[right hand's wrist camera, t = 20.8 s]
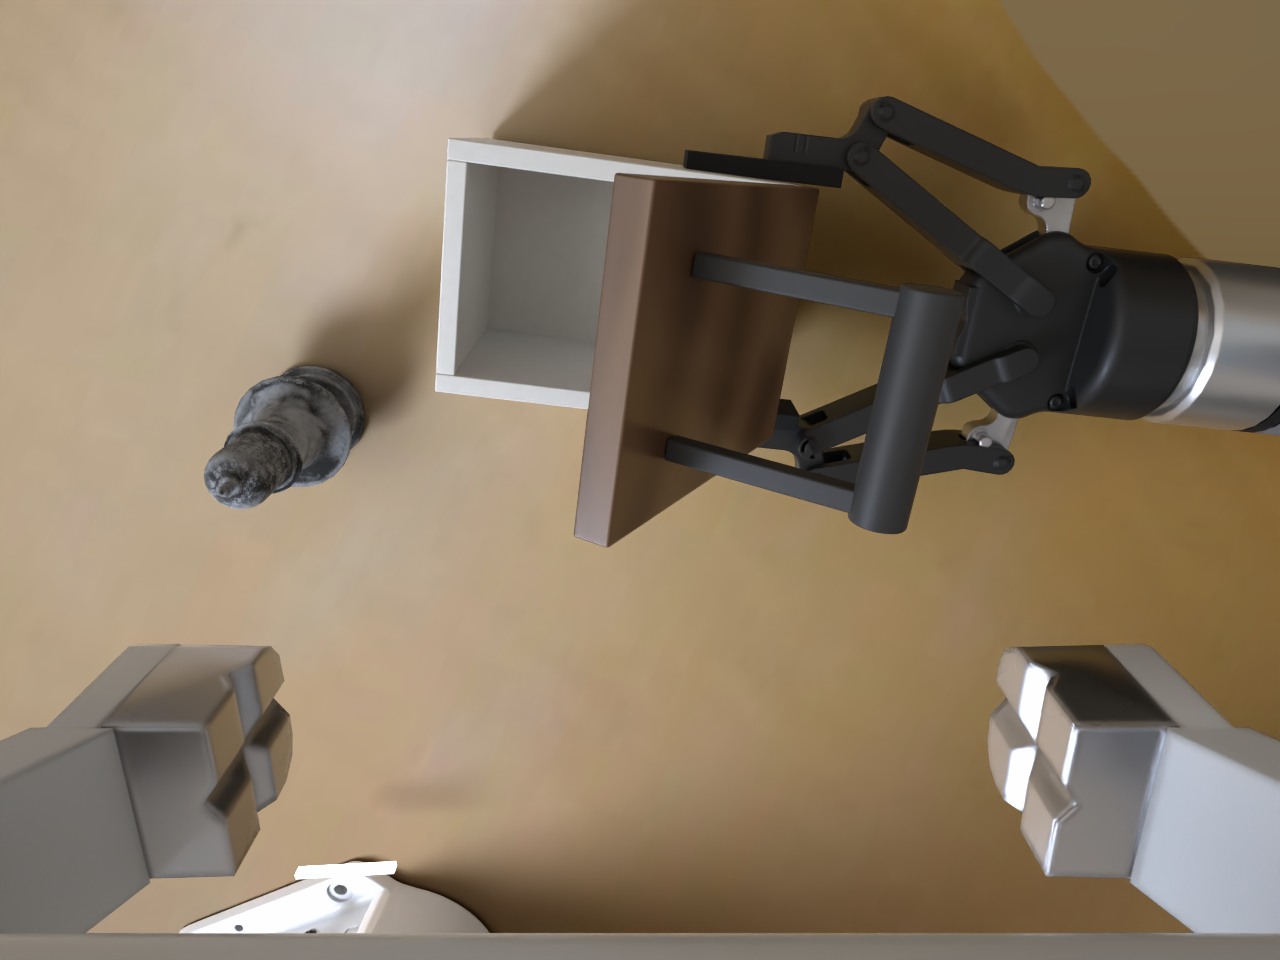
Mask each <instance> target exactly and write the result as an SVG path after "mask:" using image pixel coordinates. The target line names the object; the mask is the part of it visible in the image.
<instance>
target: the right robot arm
mask: <svg viewBox="0 0 1280 960" xmlns="http://www.w3.org/2000/svg"><path fill="white" fill-rule="evenodd" d="M283 682H284V677H283V672H282V667H281V662H280V657H279V654H278V653H277V652H276V651H275V650H274V649H273V648H272V647H271V646H230V645H180V644H147V645H136V646H130V647H128V648H127V649H126V650H125V651H124V652H123V653H122V654H121V655H120V656H119V657H118V658H117V659H116V660H115V661H114V662H113V663H112V664H110V665H109V666H108V667H107V668H106V669H105V670H104V671H103V672H102V673H101V674H100V675H99V676H98V677H97V678H96V679H95V680H94V681H93V682H92V683H91V684H90V685H89V686H88V687H87V688H86V689H85V690H84V691H83V692H82V693H81V694H80V695H79V696H78V697H77V698H76V699H75V700H74V701H73V702H72V703H71V704H70V705H69V706H68V707H67V708H66V709H65V710H64V711H63V712H61V713H60V714H59V715H58V716H57V717H56V718H55V719H54V720H53V721H52V722H51V723H50V724H49V725H48V726H47V727H46V728H29V729H27V730H25V731H22V732H20V733H18V734H16V735H13V736H11V737H9V738H6V739H4V740H2V741H0V960H1280V741H1278V740H1276V739H1274V738H1271V737H1269V736H1267V735H1264V734H1262V733H1260V732H1258V731H1255V730H1253V729H1251V728H1234V727H1233V726H1232V725H1231V724H1230V723H1229V722H1228V721H1227V720H1226V719H1225V718H1224V717H1223V716H1222V715H1221V714H1220V713H1219V712H1218V711H1217V710H1216V709H1215V708H1214V707H1212V706H1211V705H1210V704H1209V703H1208V702H1207V701H1206V700H1205V699H1204V698H1203V697H1202V696H1201V695H1200V694H1199V693H1198V692H1197V691H1196V690H1195V689H1194V688H1193V687H1192V686H1191V685H1190V684H1189V683H1188V682H1187V681H1186V680H1185V679H1184V678H1183V677H1182V676H1181V675H1180V674H1179V673H1178V672H1177V671H1176V670H1175V669H1174V668H1173V667H1172V666H1171V665H1170V664H1169V663H1168V662H1167V661H1166V660H1165V659H1164V658H1163V657H1162V656H1161V655H1160V654H1159V653H1158V652H1157V651H1155V650H1154V649H1153V648H1152V647H1149V646H1146V645H1143V644H1117V645H1083V646H1043V647H1012V648H1005V650H1004V652H1003V654H1002V656H1001V658H1000V661H999V665H998V671H997V677H996V682H997V683H998V685H999V687H1000V688H1001V690H1002V691H1003V693H1004V694H1005V696H1006V697H1007V698H1006V699H1005V700H1004V701H1003V702H1002V703H1001V704H1000V705H999V706H998V707H997V708H996V709H995V711H994V712H993V713H992V714H991V715H990V721H989V729H988V737H987V745H988V756H989V766H990V769H991V772H992V775H993V779H994V782H995V784H996V786H997V788H998V790H999V792H1000V794H1001V796H1002V798H1003V800H1005V801H1006V802H1008V803H1009V804H1011V805H1012V806H1014V807H1015V808H1017V809H1018V810H1020V811H1022V812H1023V814H1022V819H1021V825H1020V831H1021V832H1022V834H1023V836H1024V838H1025V839H1026V841H1027V843H1028V845H1029V847H1030V848H1031V850H1032V852H1033V854H1034V856H1035V857H1036V859H1037V861H1038V863H1039V864H1040V866H1041V868H1042V870H1043V872H1044V873H1045V875H1046V876H1059V877H1095V878H1130V883H1131V884H1133V885H1134V886H1135V887H1136V888H1138V889H1139V890H1140V891H1142V892H1143V893H1144V894H1145V895H1147V896H1148V897H1149V898H1151V899H1152V900H1153V901H1154V902H1156V903H1157V904H1158V905H1160V906H1161V907H1162V908H1163V909H1165V910H1166V911H1167V912H1169V913H1170V914H1171V915H1172V916H1174V917H1175V918H1176V919H1178V920H1179V921H1180V922H1181V923H1183V924H1184V925H1185V926H1187V927H1188V928H1189V929H1190V930H1192V931H1193V932H1194V933H489V931H488V930H487V929H486V928H485V926H484V925H483V924H482V923H481V922H480V921H479V920H478V919H477V918H476V917H475V916H474V915H473V914H471V913H470V912H469V911H467V910H466V909H465V908H463V907H462V906H460V905H459V904H457V903H455V902H453V901H451V900H450V899H447V898H445V897H443V896H441V895H438V894H436V893H433V892H430V891H427V890H423V889H419V888H416V887H412V886H408V885H405V884H402V883H400V882H398V881H396V880H394V879H393V878H391V877H390V876H388V875H387V874H394V872H395V869H396V866H397V863H396V861H391V862H373V863H366V862H362V861H351V862H348V863H345V864H337V865H319V866H301V867H298V869H297V871H296V874H295V878H296V879H305V878H307V879H305V880H302V881H299V882H297V883H294V884H292V885H289V886H287V887H284V888H282V889H279V890H277V891H274V892H271V893H269V894H266V895H264V896H261V897H259V898H256V899H254V900H251V901H249V902H246V903H243V904H241V905H238V906H236V907H233V908H231V909H228V910H226V911H223V912H221V913H218V914H216V915H213V916H210V917H208V918H205V919H203V920H200V921H198V922H195V923H193V924H190V925H188V926H186V927H184V928H183V929H181V930H180V932H179V933H86V932H87V931H89V930H90V929H91V928H92V927H94V926H95V925H96V924H98V923H99V922H100V921H101V920H103V919H104V918H105V917H107V916H108V915H109V914H110V913H112V912H113V911H114V910H116V909H117V908H118V907H119V906H121V905H122V904H123V903H125V902H126V901H127V900H128V899H130V898H131V897H132V896H134V895H135V894H136V893H137V892H139V891H140V890H141V889H143V888H144V887H145V886H146V885H148V884H149V883H150V879H149V878H183V877H219V876H234V875H235V874H236V872H237V870H238V868H239V866H240V865H241V863H242V861H243V859H244V857H245V856H246V854H247V852H248V850H249V848H250V847H251V845H252V843H253V841H254V839H255V838H256V836H257V834H258V832H259V831H260V825H259V819H258V814H257V812H258V811H260V810H262V809H263V808H265V807H266V806H268V805H269V804H271V803H272V802H274V801H275V800H277V798H278V796H279V794H280V792H281V790H282V788H283V786H284V784H285V782H286V780H287V775H288V771H289V767H290V762H291V758H292V727H291V720H290V715H289V714H288V713H287V712H286V711H285V710H284V708H283V707H282V706H281V705H280V704H279V703H278V702H277V701H276V700H275V699H274V698H273V697H274V696H275V694H276V693H277V691H278V690H279V688H280V687H281V685H282V683H283ZM341 885H344V886H341Z"/></svg>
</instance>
